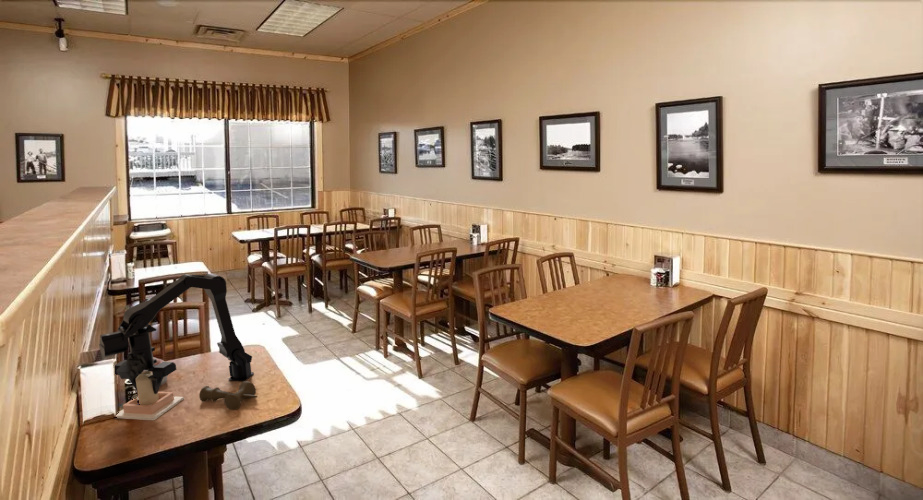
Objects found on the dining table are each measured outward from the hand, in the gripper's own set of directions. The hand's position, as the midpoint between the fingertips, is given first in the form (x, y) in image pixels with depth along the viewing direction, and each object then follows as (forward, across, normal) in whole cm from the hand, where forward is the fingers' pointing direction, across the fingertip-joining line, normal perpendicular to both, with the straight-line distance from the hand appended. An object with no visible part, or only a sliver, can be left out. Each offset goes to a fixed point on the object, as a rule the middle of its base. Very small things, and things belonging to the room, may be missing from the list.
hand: (148, 393), depth 170 cm
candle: (+3, 0, 0) cm, 3 cm away
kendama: (+6, +24, +7) cm, 26 cm away
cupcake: (+6, -11, +17) cm, 21 cm away
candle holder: (+5, 0, 0) cm, 5 cm away
